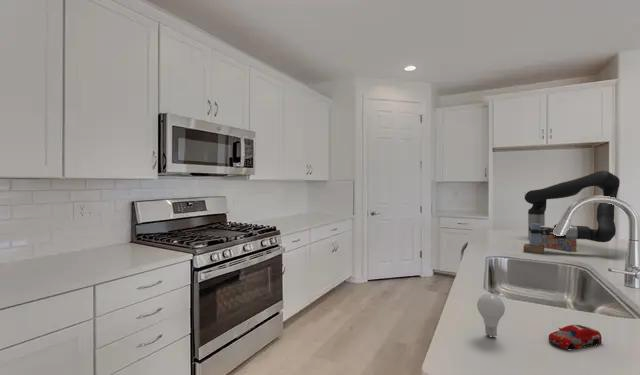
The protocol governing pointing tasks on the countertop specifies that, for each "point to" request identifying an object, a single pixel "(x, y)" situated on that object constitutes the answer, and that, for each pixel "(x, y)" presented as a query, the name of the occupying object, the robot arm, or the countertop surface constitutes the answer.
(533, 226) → the pillar block
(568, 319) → the countertop surface
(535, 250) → the base block
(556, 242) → the stack of blocks
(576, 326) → the race car
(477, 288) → the countertop surface
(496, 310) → the lightbulb
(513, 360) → the countertop surface
